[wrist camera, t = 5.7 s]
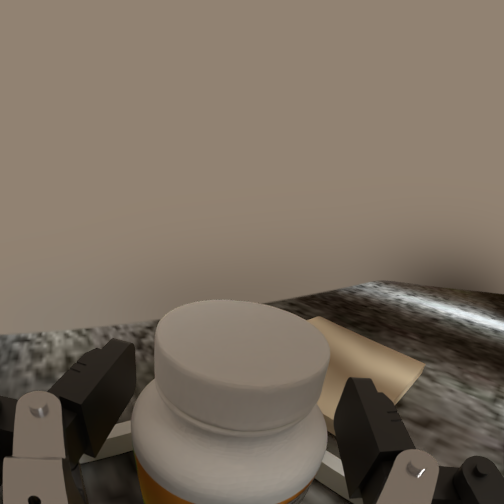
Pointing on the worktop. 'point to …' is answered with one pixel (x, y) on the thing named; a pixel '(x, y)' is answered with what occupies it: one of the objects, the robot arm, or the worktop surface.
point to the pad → (361, 367)
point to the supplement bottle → (231, 406)
